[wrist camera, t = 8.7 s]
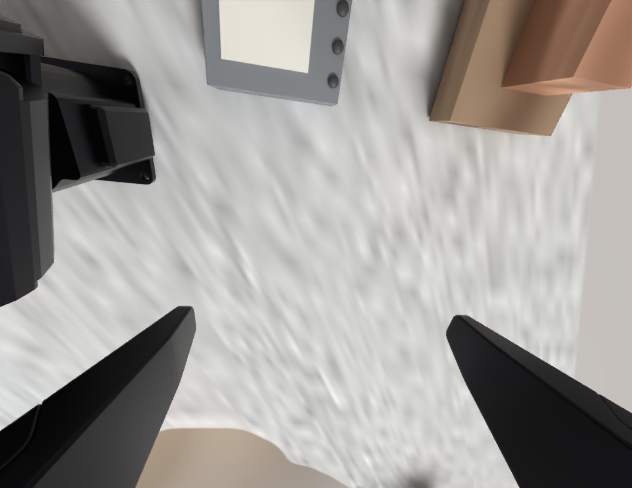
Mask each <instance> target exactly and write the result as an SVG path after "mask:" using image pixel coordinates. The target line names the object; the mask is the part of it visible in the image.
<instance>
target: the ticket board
mask: <svg viewBox="0 0 632 488" xmlns="http://www.w3.org/2000/svg"><path fill="white" fill-rule="evenodd" d="M351 4H352V0H202V15H203V31H204V46H205V61H206V77H207V84H208V85H210V86H212V87H215V88H217V89H220V90H227V91H234V92H241V93H247V94H254V95H261V96H267V97H274V98H281V99H287V100H294V101H301V102H307V103H314V104H321V105H327V106H333V105H336V104H337V103H338V96H339V89H340V82H341V74H342V67H343V60H344V53H345V46H346V39H347V32H348V25H349V18H350V11H351Z"/></svg>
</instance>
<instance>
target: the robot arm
mask: <svg viewBox="0 0 632 488" xmlns="http://www.w3.org/2000/svg"><path fill="white" fill-rule="evenodd" d="M40 55H42V56H44V41H43V39H42V38H40V37H37V36H35V35H33V34H30V33H28V32H26V31H24V30H22V29H21V25H20V24H18V23H16V22H14V21H12V20H10V19H8V18H5V17H3V16H1V15H0V307H1V306H4V305H6V304H9V303H11V302H14V301H16V300H18V299H20V298H21V297H23V296H25V295H26V294H28V293H30V292H31V291H33V290H35V289H36V288H37V287H38V283H37V280H39V279H40V278H41V277H42V276H43V275H44V274H45V273H46V271H47V270H48V269H49V268H50V267H51V265H52V264H53V263H54V228H53V202H52V193H53V192H56V191H60V190H63V189H66V188H69V187H72V186H76V185H79V184H82V183H85V182H89V181H92V180H104V181H114V182H125V183H135V184H146V185H147V184H151V183H153V182H154V181H155V180H156V175H155V169H154V163H153V156H154V155H155V152H154V146H153V140H152V134H151V127H150V121H149V115H148V113H147V112H146V111H145V109H144V104H143V98H142V92H141V86H140V81H139V78H138V77H137V75H136V74H135V73H133V72H132V71H129V70H125V69H120V68H113V67H107V66H100V65H94V64H87V63H81V62H74V61H67V60H61V59H54V58H48V57H41V56H40ZM127 76H129V77H130V78H131V84H130V85H129V84H128V83H127V82H126V77H127ZM144 173H145V174H147V175H148V176H149V180H148V179H146V178H145V177H144ZM195 331H196V322H195V314H194V309H193V307H191V306H178V307H176V308H175V309H173V310H172V311H170V312H169V313H168V314H166V315H165V316H163V317H162V318H160V319H159V320H158V321H156V322H155V323H153V324H152V325H150V326H149V327H148V328H146V329H145V330H143V331H142V332H141V333H139V334H138V335H136V336H135V337H133V338H132V339H131V340H129V341H128V342H126V343H125V344H123V345H122V346H121V347H119V348H118V349H116V350H115V351H113V352H112V353H111V354H109V355H108V356H106V357H105V358H104V359H102V360H101V361H99V362H98V363H96V364H95V365H94V366H92V367H91V368H89V369H88V370H86V371H85V372H84V373H82V374H81V375H79V376H78V377H77V378H75V379H74V380H72V381H71V382H69V383H68V384H67V385H65V386H64V387H62V388H61V389H59V390H58V391H57V392H55V393H54V394H52V395H51V396H49V397H48V398H47V399H45V400H44V401H43V402H42V405H41V404H38V405H36V406H35V407H34V408H32V409H31V410H29V411H28V412H27V413H25V414H24V415H22V416H21V417H19V418H18V419H17V420H15V421H14V422H12V423H11V424H9V425H8V426H6V427H5V428H3V429H2V430H0V488H135V487H136V485H137V482H138V480H139V477H140V475H141V473H142V471H143V468H144V466H145V463H146V461H147V459H148V457H149V454H150V452H151V449H152V447H153V445H154V442H155V440H156V438H157V435H158V433H159V431H160V428H161V426H162V424H163V421H164V419H165V417H166V414H167V412H168V409H169V407H170V405H171V402H172V400H173V398H174V395H175V393H176V391H177V388H178V386H179V383H180V380H181V377H182V374H183V371H184V368H185V365H186V361H187V358H188V355H189V351H190V348H191V345H192V342H193V338H194V335H195ZM446 337H447V340H448V342H449V345H450V347H451V350H452V352H453V355H454V357H455V359H456V362H457V364H458V367H459V369H460V372H461V374H462V376H463V379H464V381H465V383H466V385H467V387H468V389H469V391H470V393H471V395H472V397H473V398H474V400H475V402H476V404H477V406H478V408H479V410H480V412H481V414H482V416H483V418H484V420H485V422H486V424H487V426H488V428H489V430H490V431H491V433H492V435H493V437H494V439H495V441H496V443H497V445H498V447H499V449H500V451H501V453H502V455H503V457H504V459H505V461H506V463H507V464H508V466H509V468H510V470H511V472H512V474H513V476H514V478H515V480H516V482H517V484H518V486H519V488H632V413H630V412H629V411H627V410H625V409H624V408H622V407H620V406H618V405H617V404H615V403H614V402H612V401H610V400H608V399H607V398H605V397H603V396H602V395H599V394H597V393H596V392H595V391H593V390H592V389H590V388H588V387H587V386H585V385H583V384H582V383H580V382H578V381H576V380H575V379H573V378H571V377H570V376H568V375H566V374H565V373H563V372H561V371H560V370H558V369H556V368H555V367H553V366H551V365H550V364H548V363H546V362H545V361H543V360H541V359H540V358H538V357H536V356H535V355H533V354H531V353H530V352H528V351H526V350H524V349H523V348H521V347H519V346H518V345H516V344H514V343H513V342H511V341H509V340H508V339H506V338H504V337H503V336H501V335H499V334H498V333H496V332H494V331H493V330H491V329H489V328H488V327H486V326H484V325H483V324H481V323H479V322H477V321H476V320H474V319H472V318H471V317H469V316H467V315H455V316H454V317H453V319H452V321H451V323H450V325H449V327H448V329H447V331H446Z"/></svg>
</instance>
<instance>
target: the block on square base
mask: <svg viewBox="0 0 632 488" xmlns="http://www.w3.org/2000/svg"><path fill="white" fill-rule="evenodd" d="M631 86H632V0H465V1H464V4H463V7H462V11H461V14H460V17H459V21H458V24H457V27H456V31H455V34H454V38H453V41H452V44H451V48H450V51H449V54H448V58H447V61H446V64H445V68H444V71H443V75H442V78H441V81H440V85H439V88H438V91H437V95H436V98H435V102H434V105H433V108H432V112H431V115H430V118H429V121H435V122H442V123H449V124H455V125H462V126H469V127H475V128H482V129H489V130H495V131H502V132H509V133H515V134H527V135H542V136H551V135H552V133H553V131H554V129H555V127H556V125H557V123H558V121H559V119H560V117H561V115H562V113H563V111H564V109H565V107H566V105H567V103H568V101H569V99H570V97H571V96H572V94H573V93H582V92H593V91H604V90H614V89H625V88H631Z"/></svg>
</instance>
